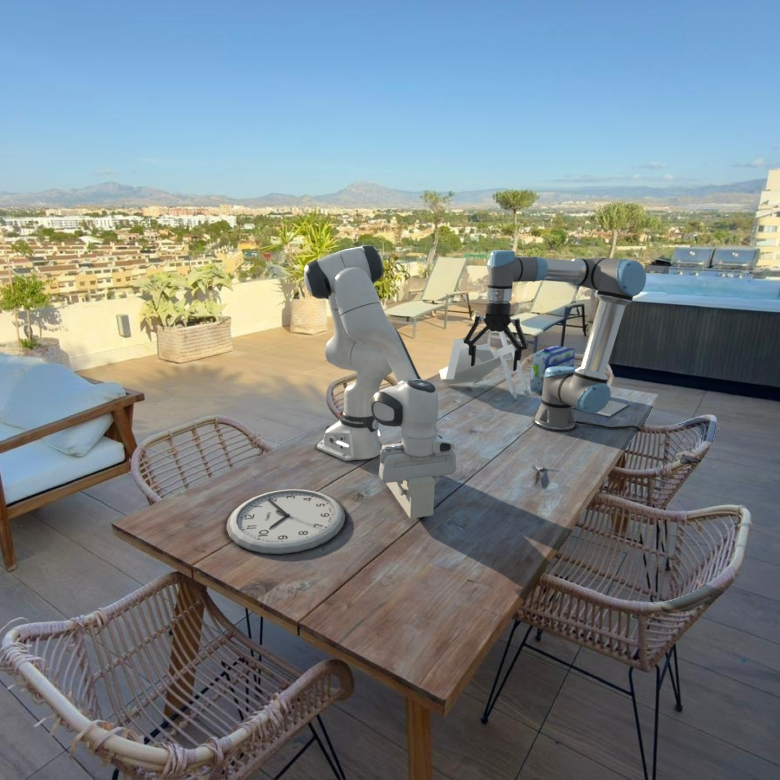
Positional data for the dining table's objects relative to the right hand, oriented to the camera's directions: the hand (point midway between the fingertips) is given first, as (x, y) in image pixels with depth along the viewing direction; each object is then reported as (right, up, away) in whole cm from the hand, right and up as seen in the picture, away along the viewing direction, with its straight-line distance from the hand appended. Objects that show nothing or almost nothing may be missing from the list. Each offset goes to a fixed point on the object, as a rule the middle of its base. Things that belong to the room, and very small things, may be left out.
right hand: (493, 367), depth 169 cm
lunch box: (+42, -8, +78) cm, 89 cm away
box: (-29, -36, -24) cm, 52 cm away
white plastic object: (+8, -8, +74) cm, 75 cm away
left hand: (-27, -34, -32) cm, 54 cm away
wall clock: (-60, -41, -34) cm, 80 cm away
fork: (+13, -34, -6) cm, 36 cm away
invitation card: (+58, -15, +57) cm, 83 cm away
